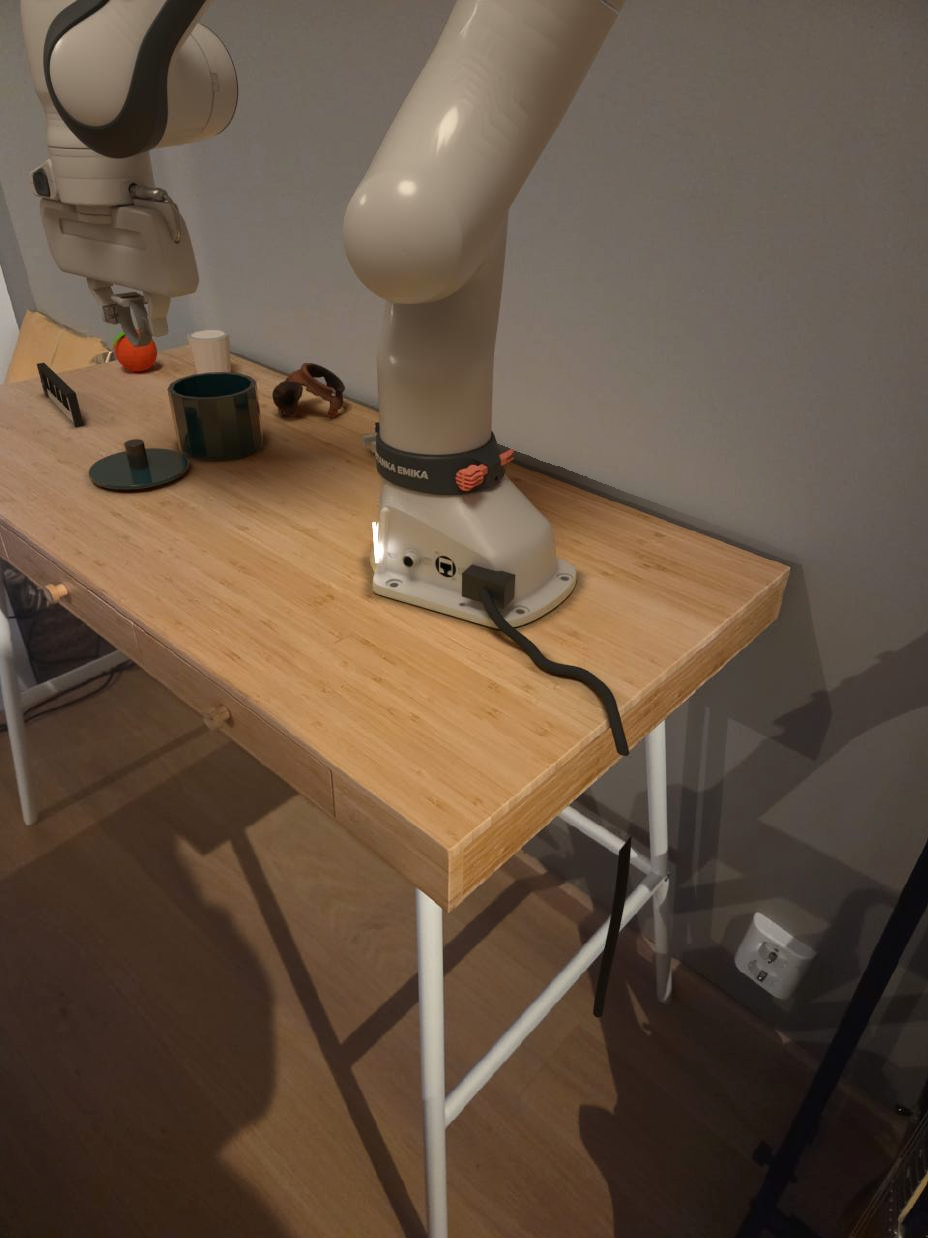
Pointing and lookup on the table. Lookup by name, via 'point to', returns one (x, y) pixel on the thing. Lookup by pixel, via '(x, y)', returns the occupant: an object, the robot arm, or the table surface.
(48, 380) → the midi keyboard
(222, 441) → the tin
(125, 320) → the wristwatch
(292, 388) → the brown arched strap
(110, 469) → the lid
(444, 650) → the table surface
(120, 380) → the table surface
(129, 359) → the clementine
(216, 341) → the cream white cylinder
